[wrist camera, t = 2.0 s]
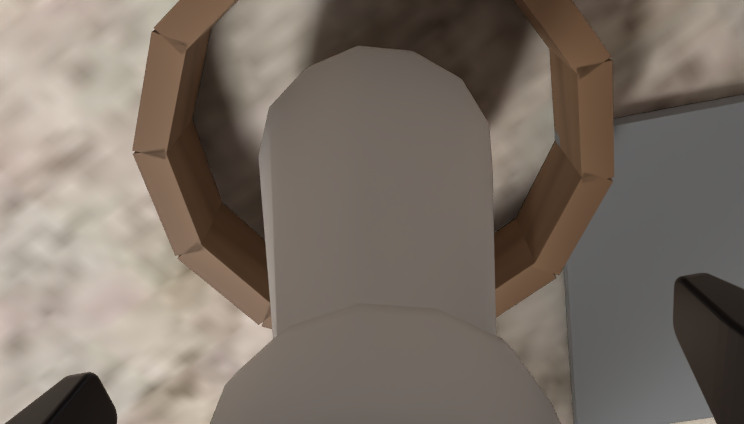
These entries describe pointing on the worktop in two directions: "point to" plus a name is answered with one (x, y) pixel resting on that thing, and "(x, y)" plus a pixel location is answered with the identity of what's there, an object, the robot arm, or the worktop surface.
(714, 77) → the worktop surface
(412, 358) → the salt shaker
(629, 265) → the mat
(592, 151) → the holder ring
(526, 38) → the worktop surface
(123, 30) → the worktop surface
